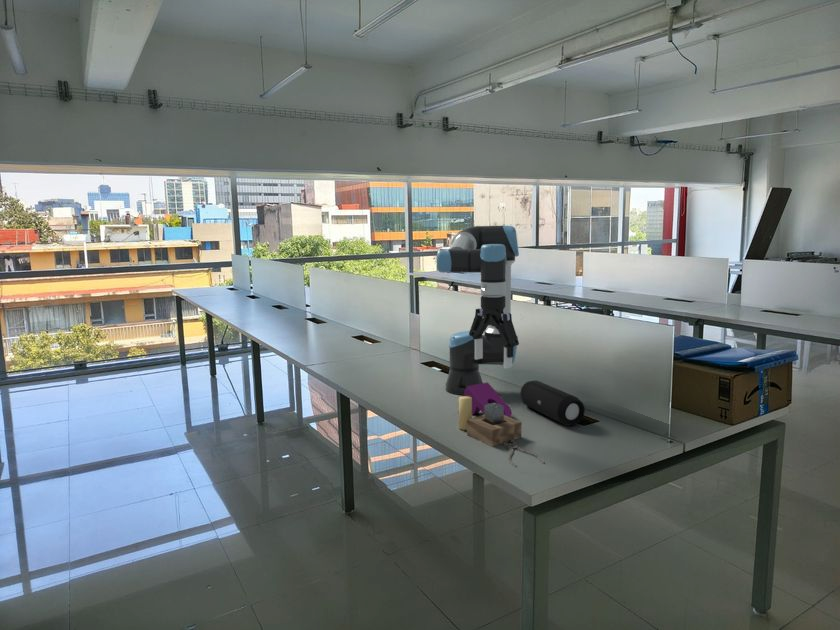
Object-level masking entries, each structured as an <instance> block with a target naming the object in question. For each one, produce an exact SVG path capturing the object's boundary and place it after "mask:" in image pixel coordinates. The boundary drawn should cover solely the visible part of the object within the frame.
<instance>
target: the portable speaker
mask: <svg viewBox="0 0 840 630" xmlns="http://www.w3.org/2000/svg"><path fill="white" fill-rule="evenodd" d="M520 399H521V401H522V402H523V404H524V405H525V406H527V407H528V408H530V409H533V410H535V411H536V412H538V413H540V414H543V415H544V416H546V417H548V418H551V419H553V420H554V421H556V422H558V423H560V424H563V425H565V426H575V425H578V424H579V423H580V422H581V421H582V420H583V419H584V416H585V413H586V412H585V411H586V409H585V406H584V403H583V402H582V401H581V400H580V398H579V397H577V396H574V395H573V394H571V393H568V392H565V391H563V390H561V389H559V388H556V387H554V386H551V385H549V384H546V383H544V382H542V381H540V380H529V381H526V382H525V383H524V384H523V385H522V386H521V389H520Z"/></svg>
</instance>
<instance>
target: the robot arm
mask: <svg viewBox="0 0 840 630" xmlns="http://www.w3.org/2000/svg"><path fill="white" fill-rule="evenodd" d="M450 243H451V244H450V247H449V248H445V249H439V250H438V251H437V253H436V269H437V272H439V273H443V274H444V273H445V274H446V273H447V274H451V273H453V274H454V273H456V274H457V273H465V274H467V273H469V274H470V273H471V274H472V273H473V274H475V273H477V274H479V273H480V295H481V296H480V307H478V308H475V313H474V317H473V322H472V323H471V326H470V329H469V330H462V331H458V332H455V333H453V334H452V335H450V337H449V346H448V347H449V371H448V376H447V379H446V382H445V391H446V392H448V393H450V394H453V395H464V392H465V389H466V387H467V386H472V385H477V384H482V383H484V382H483V380H482V376H481V373H480V365H490V366H495V365H496V366H503V369H510V368H513V364H515V361H516V355H517V347H518V346H519V344H520V342H519V336H518V335H517V332H516V330H515V326H514V323H513V320H512V319H513V318H512V313H511V311H512V309H511V302H512V301H511V299H512V295H511V294H512V293H511V292H512V291H511V290H512V289H511V287H512V281H511V280H512V265H513V264H514V263H515V262H516V257H519V255H520V254H519V252H520V251H519V247H518V246H519V244H518V235H517V230H516V227H514V226H513V225H504V224H502V225H475V226H469V227H467V228H465V229H462V230H460V231H458V232H457V233H456V234H455V235H454V236H453V237H452V239H451V241H450Z"/></svg>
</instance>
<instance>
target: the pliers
mask: <svg viewBox="0 0 840 630" xmlns="http://www.w3.org/2000/svg"><path fill="white" fill-rule="evenodd" d="M509 442H510V443H508V442H505V441H504V442H502V444H501V445H503V446H504V447H505V448H507V449H508V450H509V451H508V452H509V453H508V457H507V460H508V462H509V463H510V464H511V465H512V466H514V467H515V468H516V467H518V466H517V464H516V463H514V462H513V461H512V457H513V455H514V452H515V450H517V451H519V452H521V453H523V454H527V455H530V456H533V457H535V458H536V459H538V460H539V461H540V462H541V463H542V464H543V465H545V463H546V462H545V460H544V459H543V458H542V457H541V456H540V455H538V454H536V453H533V452H531V451H528V450H526V449H524V448H521V446H520V445H518V443H517V442H516V441H515V440H512V439H510V441H509Z"/></svg>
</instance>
